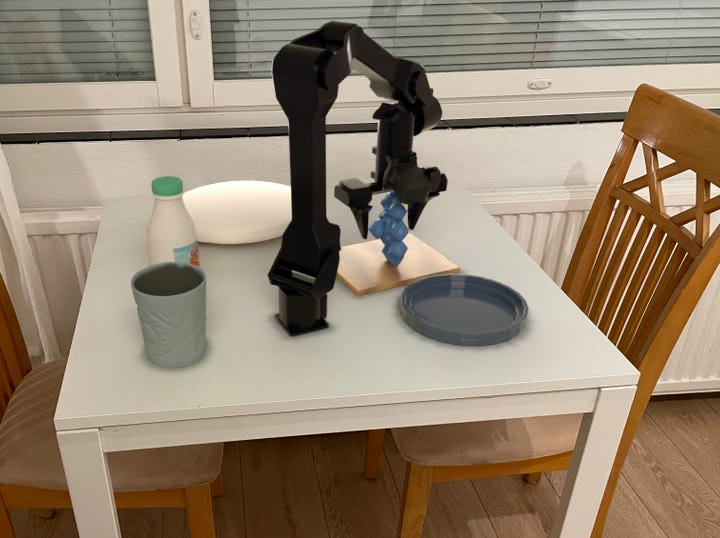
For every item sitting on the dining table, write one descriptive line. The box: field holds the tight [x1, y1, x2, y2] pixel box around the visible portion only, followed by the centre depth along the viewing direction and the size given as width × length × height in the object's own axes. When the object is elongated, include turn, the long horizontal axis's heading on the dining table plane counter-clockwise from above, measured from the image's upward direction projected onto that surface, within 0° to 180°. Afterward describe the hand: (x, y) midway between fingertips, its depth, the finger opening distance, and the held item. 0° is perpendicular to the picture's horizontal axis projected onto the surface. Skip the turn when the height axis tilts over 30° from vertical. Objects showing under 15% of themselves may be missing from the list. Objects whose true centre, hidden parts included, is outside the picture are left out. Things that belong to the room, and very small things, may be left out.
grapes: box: [368, 191, 410, 266], centre depth 128 cm, size 12×7×12 cm, turn 6°
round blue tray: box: [399, 273, 529, 347], centre depth 117 cm, size 19×19×2 cm
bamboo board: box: [336, 232, 461, 297], centre depth 132 cm, size 20×16×1 cm
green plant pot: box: [130, 262, 207, 369], centre depth 105 cm, size 10×10×12 cm
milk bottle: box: [146, 175, 201, 268], centre depth 116 cm, size 8×8×20 cm
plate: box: [182, 180, 292, 245], centre depth 145 cm, size 28×6×27 cm
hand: (387, 234), depth 129 cm, fingers open, 9 cm apart
